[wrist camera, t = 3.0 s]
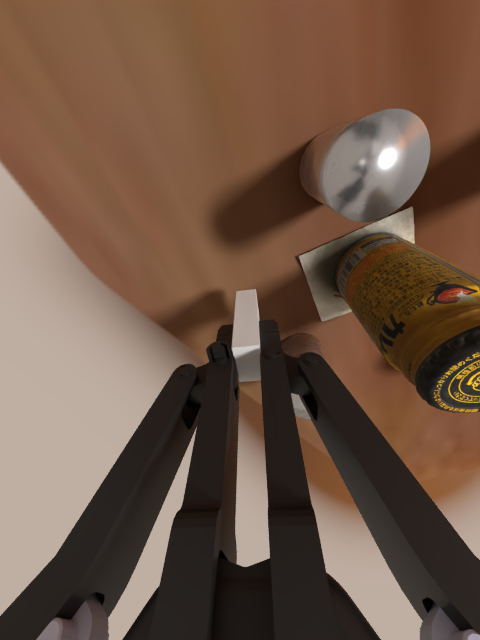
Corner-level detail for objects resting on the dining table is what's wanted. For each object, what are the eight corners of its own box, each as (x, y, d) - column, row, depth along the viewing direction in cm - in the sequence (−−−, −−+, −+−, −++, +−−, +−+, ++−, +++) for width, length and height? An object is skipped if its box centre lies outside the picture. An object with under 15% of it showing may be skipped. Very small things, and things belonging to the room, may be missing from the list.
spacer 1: (280, 335, 24) (290, 391, 18) (320, 331, 23) (343, 387, 18) (282, 363, 26) (291, 420, 20) (318, 360, 26) (339, 418, 20)
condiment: (416, 287, 20) (572, 407, 11) (321, 320, 23) (376, 444, 13) (411, 205, 17) (641, 271, 7) (297, 254, 19) (350, 357, 9)
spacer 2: (299, 134, 15) (332, 119, 9) (365, 122, 14) (444, 98, 9) (299, 204, 17) (325, 227, 11) (356, 195, 17) (415, 215, 11)
